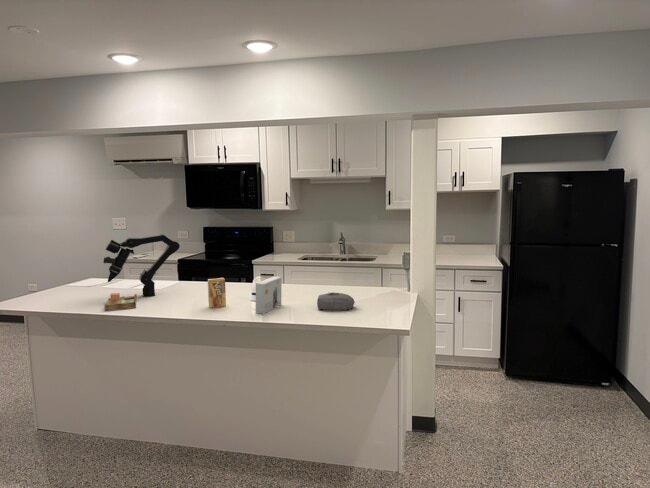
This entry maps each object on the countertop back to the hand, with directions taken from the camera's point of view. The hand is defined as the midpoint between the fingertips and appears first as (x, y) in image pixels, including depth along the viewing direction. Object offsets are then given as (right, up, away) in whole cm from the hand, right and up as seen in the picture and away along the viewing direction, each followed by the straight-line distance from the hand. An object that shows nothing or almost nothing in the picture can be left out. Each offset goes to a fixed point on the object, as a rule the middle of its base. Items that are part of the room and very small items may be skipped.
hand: (108, 280), depth 265 cm
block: (+6, -10, -6) cm, 13 cm away
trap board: (+12, -13, -11) cm, 21 cm away
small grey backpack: (+133, -13, -25) cm, 136 cm away
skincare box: (+98, -13, -24) cm, 101 cm away
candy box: (+68, -13, -18) cm, 72 cm away
